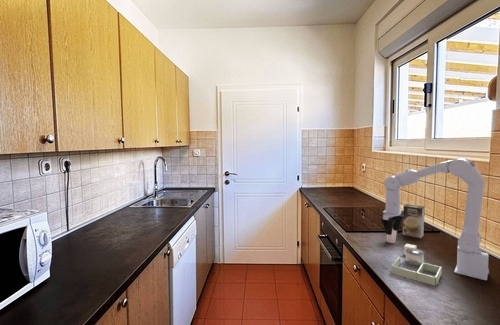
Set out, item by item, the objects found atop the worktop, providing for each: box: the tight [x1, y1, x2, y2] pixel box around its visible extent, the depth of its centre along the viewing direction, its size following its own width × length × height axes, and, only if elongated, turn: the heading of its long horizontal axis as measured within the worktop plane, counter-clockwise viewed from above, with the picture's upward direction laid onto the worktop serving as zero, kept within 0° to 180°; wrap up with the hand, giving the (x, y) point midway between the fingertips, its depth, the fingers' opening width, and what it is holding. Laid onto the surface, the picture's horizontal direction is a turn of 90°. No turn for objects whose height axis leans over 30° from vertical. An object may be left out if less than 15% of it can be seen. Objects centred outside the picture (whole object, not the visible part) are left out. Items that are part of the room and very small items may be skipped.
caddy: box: [390, 256, 442, 287], centre depth 105 cm, size 14×11×3 cm
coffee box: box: [402, 203, 426, 239], centre depth 147 cm, size 9×6×16 cm
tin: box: [405, 248, 425, 267], centre depth 114 cm, size 7×7×5 cm
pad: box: [422, 270, 437, 277], centre depth 102 cm, size 5×10×1 cm, turn 137°
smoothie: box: [385, 229, 398, 244], centre depth 138 cm, size 6×6×14 cm
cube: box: [403, 243, 417, 256], centre depth 123 cm, size 4×4×4 cm
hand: (392, 232), depth 123 cm, fingers open, 7 cm apart
